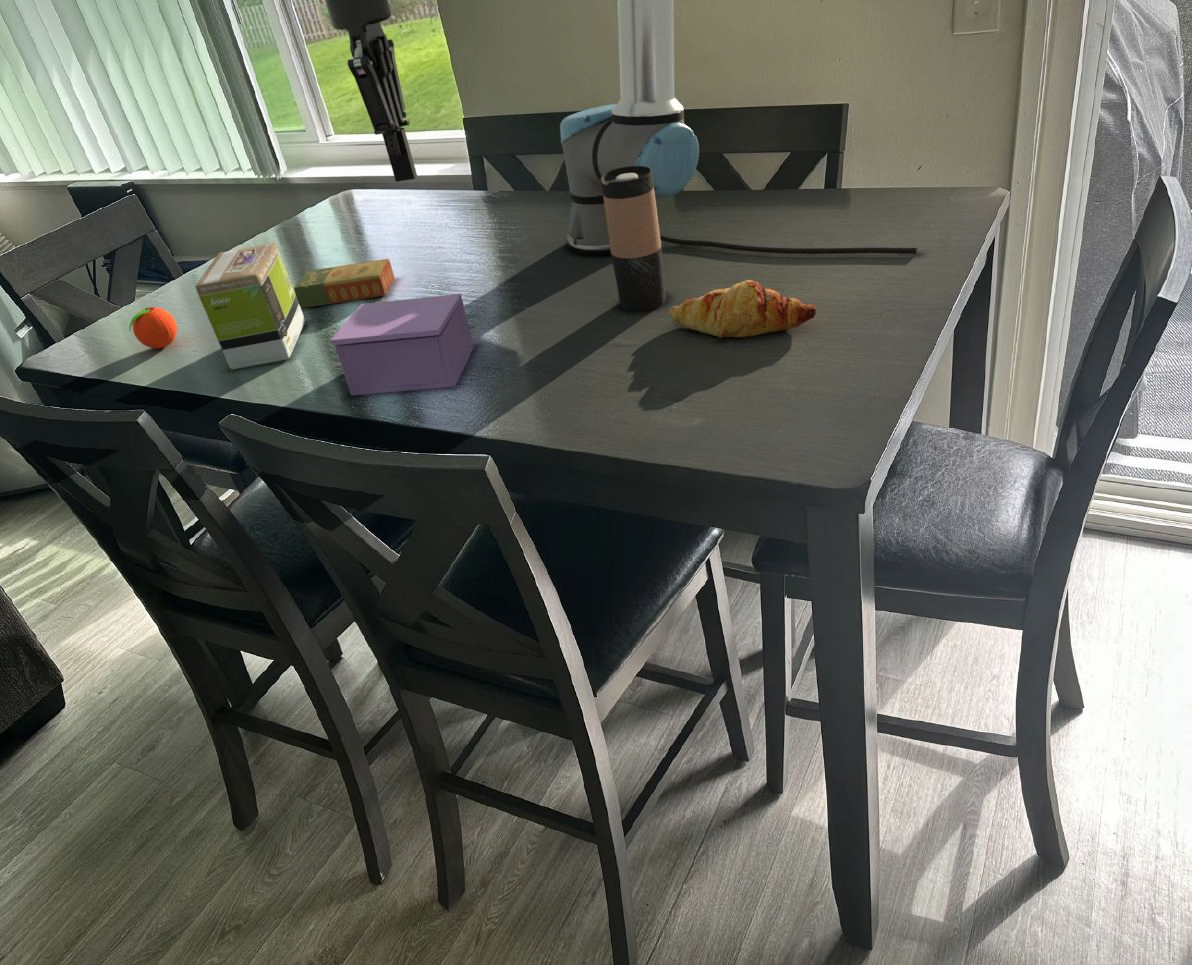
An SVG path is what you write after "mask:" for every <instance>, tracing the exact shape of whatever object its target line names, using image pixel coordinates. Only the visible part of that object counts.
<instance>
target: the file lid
mask: <svg viewBox="0 0 1192 965" xmlns="http://www.w3.org/2000/svg"><path fill="white" fill-rule="evenodd" d="M461 299H462V300H463V297H462V293H457V294H456V293H455V294H446V295H445V294H443V295H436V296H435V295H434V296H427V297H417V298H408V299H407V298H405V299H399V300H397V299H396V300H389V301H387V300H386V301H378V302H370V303H369V302H367V303H361V304H359V306H358V307H357V308H356V309H355V311H354V312H353V313H352V314H351V315H350V316H349V318H348V319H347V320H346V321H344V323H343V324H342V326H340V328H339V329H338V331H337V332H336V333H335V334H334V335H333V336H332V338H330V340H329V342H330V345H331V346H336V345H341V344H351V343H362V342H372V341H382V340H393V339H403V338H413V337H424V336H434V335H440V333H441V332H442V330H443V328H444V327H445V325H446V324H447V322H448V320H449V319H450V317H451V316H452V314H453V312H454V311H455V309H456V308H457V306H458V304H459V303H460V301H461Z"/></svg>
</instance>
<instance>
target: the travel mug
mask: <svg viewBox="0 0 1192 965" xmlns="http://www.w3.org/2000/svg"><path fill="white" fill-rule="evenodd" d="M601 183H602V190H603V197H604V205H605V212H606V219H607V226H608V234H609V241H610V248H611V254H610V255H611V259H612V266H613V271H614V277H615V282H616V288H617V293H618V294H617V295H618V298H619V304H620V307H621V308H622V309H624V310H625V311H628V312H645V311H646V312H647V311H650V310H653V309H656V308H658V307H660V306H662V305H663V304H664V303H665V302H666V286H665V274H664V262H663V250H662V240H660V235H661V233H660V226H659V217H658V209H657V201H656V200H657V199H656V197H655V193H654V185H653V177H652V170H651V169H650V168H648V167H645V166H629V167H622V168H618V169H614V170H611V171H609V172H607V173H605V174H603V175H602V177H601Z"/></svg>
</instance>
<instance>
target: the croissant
mask: <svg viewBox="0 0 1192 965" xmlns="http://www.w3.org/2000/svg"><path fill="white" fill-rule="evenodd" d="M816 307H817V306H816V304H814V303H802V301H801V300H800V299H798V298H794V297H785V296H782V295H781V294H780V293H779V292H778V291H777V290H774V288H766V287H763V285H762V284H760V282H758V281H757V280H749V279H745V280H743V281H741V282H738V283H735V284H733V285H732V286H731V287H728V288H727V287H725V288H718V289H714V290H711V291H710V292H708V293H705V294H704V295H702V296H700V297H695V298H689V299H687V300H685V301H684V302H682V303H681V304H679V305H674V306H671V308H670V309H669V317H670V319H671V320H672V321H673V322H675V323H677V324H678V325H681V326H684V327H685V328H687V329H689V330H692V331H697V332H700V333H703V334H707V335H711V336H715V337H718V338H724V337H725V338H731V337H732V338H746V337H756V336H758V335H764V334H767V333H771V332H781V331H785V330H791V329H793V328H797V327H799V326H802V325H803V324H805V323H806V322H808V321H810V320H812V319H814V318H815V316H816V315H817V308H816Z"/></svg>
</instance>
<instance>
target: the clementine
mask: <svg viewBox="0 0 1192 965" xmlns="http://www.w3.org/2000/svg"><path fill="white" fill-rule="evenodd" d="M177 324H178V323H177V321H176V320H175V317H174V316H173V315H172V314H171V312H169V311H167V310H166V309H164V308H160V307H156V306H152V307H146V308H144V309H141V310H140V311H139V312H137V313H136V314H135V315H134V316H133V317H132V319H131V320H130V323H129V328H128V330H129V331H131V328H132V331H133V334H134V336H135V337H136V340H137V341H138V342H139V343H141V344H142V345H143V346H145V347H148V348H151V349H162V348H163V349H164V348H165V347H167V346H169V345H170V344H172V343H173V342H174V340H175V339H176V337H177V334H178V325H177Z"/></svg>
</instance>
